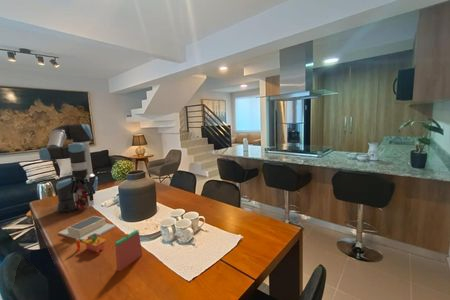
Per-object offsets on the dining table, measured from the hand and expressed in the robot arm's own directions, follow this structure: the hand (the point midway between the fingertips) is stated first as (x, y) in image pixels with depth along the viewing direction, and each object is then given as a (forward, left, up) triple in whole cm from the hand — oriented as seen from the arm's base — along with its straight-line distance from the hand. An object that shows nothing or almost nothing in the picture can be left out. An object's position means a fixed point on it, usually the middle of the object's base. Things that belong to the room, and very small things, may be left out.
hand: (84, 204), depth 127 cm
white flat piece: (0, 0, -17) cm, 17 cm away
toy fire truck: (0, 0, -2) cm, 2 cm away
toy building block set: (+12, +33, -17) cm, 39 cm away
